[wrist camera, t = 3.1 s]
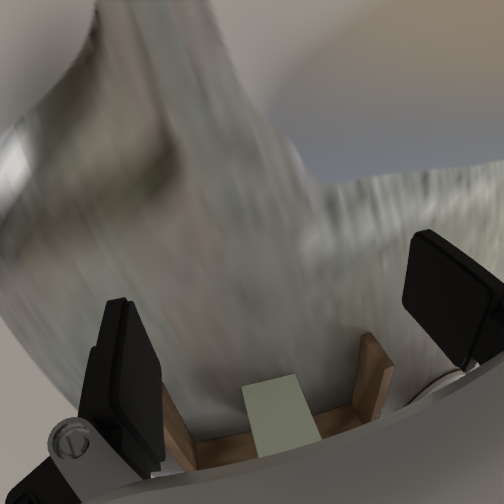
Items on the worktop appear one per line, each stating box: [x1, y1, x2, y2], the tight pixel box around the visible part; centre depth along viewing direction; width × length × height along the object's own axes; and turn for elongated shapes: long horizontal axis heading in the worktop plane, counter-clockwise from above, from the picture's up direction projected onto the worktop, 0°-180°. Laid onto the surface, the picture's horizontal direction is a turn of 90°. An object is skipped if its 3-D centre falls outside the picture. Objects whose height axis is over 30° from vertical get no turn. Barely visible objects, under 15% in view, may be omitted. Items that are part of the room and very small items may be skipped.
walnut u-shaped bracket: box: [162, 333, 395, 472], centre depth 27 cm, size 20×12×5 cm, turn 97°
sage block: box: [241, 374, 322, 458], centre depth 25 cm, size 5×5×8 cm
